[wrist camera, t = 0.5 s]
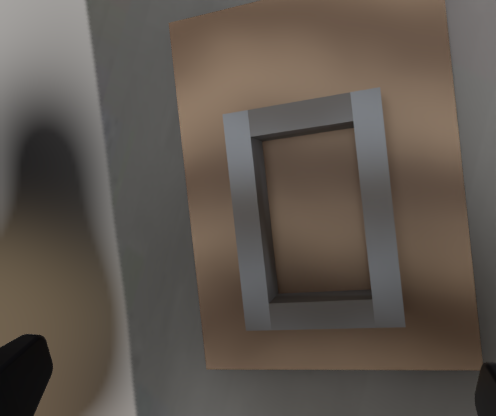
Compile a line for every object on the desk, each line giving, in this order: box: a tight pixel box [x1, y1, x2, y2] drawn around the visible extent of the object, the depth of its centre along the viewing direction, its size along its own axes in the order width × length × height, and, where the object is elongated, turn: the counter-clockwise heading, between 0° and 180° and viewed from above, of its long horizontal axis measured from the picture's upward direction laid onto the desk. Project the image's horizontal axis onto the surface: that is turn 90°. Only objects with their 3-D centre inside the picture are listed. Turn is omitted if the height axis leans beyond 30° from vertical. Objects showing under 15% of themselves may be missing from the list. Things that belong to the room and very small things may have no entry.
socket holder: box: [169, 0, 483, 370], centre depth 21 cm, size 18×13×3 cm
